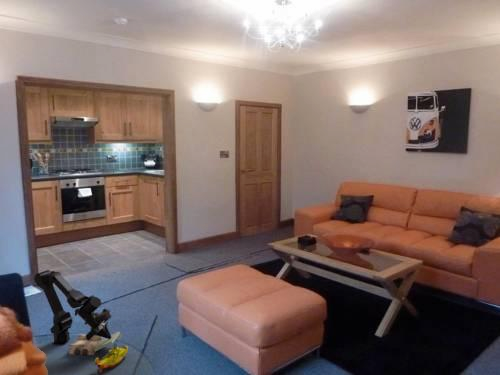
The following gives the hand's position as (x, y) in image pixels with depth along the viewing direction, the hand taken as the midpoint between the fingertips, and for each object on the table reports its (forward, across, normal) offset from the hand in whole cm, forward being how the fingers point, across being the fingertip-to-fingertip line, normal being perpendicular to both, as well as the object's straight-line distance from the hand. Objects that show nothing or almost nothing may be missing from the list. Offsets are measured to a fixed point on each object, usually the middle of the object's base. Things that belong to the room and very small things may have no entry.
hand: (110, 338), depth 198 cm
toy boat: (+9, -12, 0) cm, 15 cm away
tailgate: (-1, 0, +7) cm, 7 cm away
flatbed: (-4, 0, +14) cm, 14 cm away
